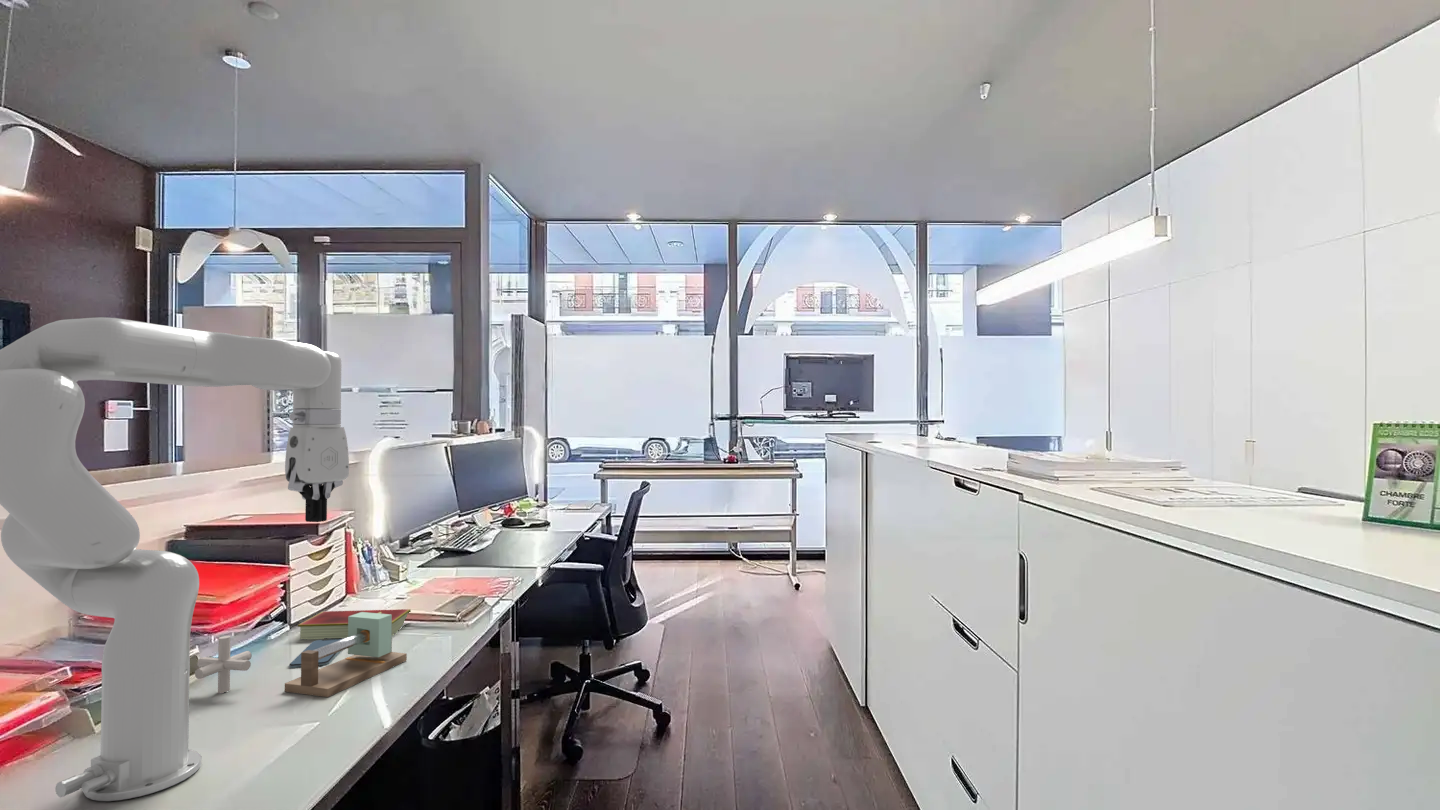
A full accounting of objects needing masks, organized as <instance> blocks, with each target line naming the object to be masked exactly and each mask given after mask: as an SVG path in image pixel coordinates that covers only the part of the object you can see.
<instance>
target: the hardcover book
mask: <svg viewBox="0 0 1440 810" xmlns="http://www.w3.org/2000/svg"><path fill="white" fill-rule="evenodd" d="M411 611H412V610H411V608H407V609H406V608H403V609H372V610H371V609H369V610H368V609H366V610H365V609H364V610H363V609H362V610H361V609H360V610H331V611H329V610H325V611H321V612H319V613H317V614H316V615H314V616H311V617H310V618H308V619H306V620H304V621H303V622H301V623H299V624H297V628H300V631H299V633H300V634H299V635H300V638H299V639H307V640H325V639H324V638H342V639H343V638H347V637H348V616H351V615H354V614H357V613H360V612H368V613H379V614H391V615H392V635H393V634H394V633H395V634H397V633H398V632H399V631H400V630H399V629H400V628H401V626H402V625H403V623H404V621H405V619H406V617H407V614H408V613H409V612H411ZM411 613H412V612H411ZM398 630H399V631H398ZM397 631H398V632H397ZM396 632H397V633H396ZM395 634H394V635H395ZM394 635H393V636H394Z"/></svg>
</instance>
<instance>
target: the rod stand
mask: <svg viewBox="0 0 1440 810" xmlns="http://www.w3.org/2000/svg"><path fill="white" fill-rule="evenodd" d="M392 639H393V638H392ZM392 639H391V652H390V653H387V654H385V655H383V656H381V657H371V656H362V655H351V656H348V657H345V658H344V659H341V660H339V661H336V662H334V663H331V664H328V665H325V666H322V667H321V668H319V666H318V660H319V659H322V658H324V657H327V656H329V655H332V654H334V653H337V652H339V651H341V652H342V651H344V650H348V648H350V647H352V646H355V645H357V644H360V643H362V642H368V641H369V640H370V629H368V630H363V631H361V632H360V633H358V634H355V635H352V636H350V637H347V638H344V639H343V638H342V640H339V641H336V642H334V643H331V644H328V645H326V646H323V647H320V648H318V649H315V650H307V651H304V650H303V651H304V652H303V651H302V652H300V654H301V668H300V676H299V677H297V678H294V679H293V680H290V681H289V680H288V681H287V682H285V683H284V693H285V692H286V693H293V694H299V695H300V694H302V695H308V696H315V697H316V696H317V697H322V698H329V697H332V696H334V695H335V694H338V693H340V692H342V691H344V690H346V689H349V688H351V687H353V686H355V685H357V684H360V683H361V682H364V681H366V680H368V679H371V678H372V677H375V676H377V675H378V674H381V673H383V672H385V671H388V670H389V669H392V668H394V667H396V666H398V665H401V664H403V663H405V662H407V661H408V660H407V656H408V654H407V653H405V652H396V651H392V650H393V648H392V647H393V644H392V643H393V642H392V641H393V640H392ZM406 660H407V661H406ZM404 661H405V662H404ZM402 662H403V663H402ZM400 663H401V664H400ZM393 666H394V667H393Z"/></svg>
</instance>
